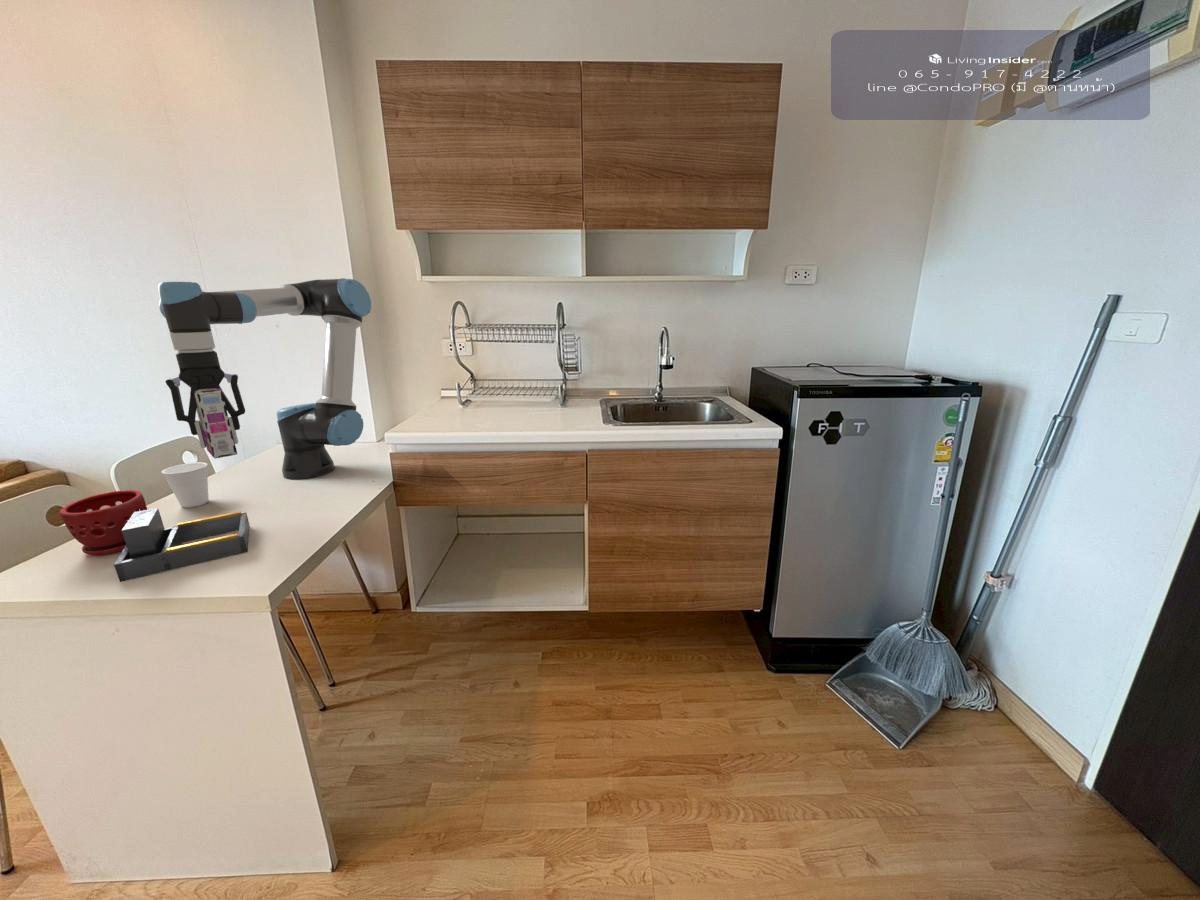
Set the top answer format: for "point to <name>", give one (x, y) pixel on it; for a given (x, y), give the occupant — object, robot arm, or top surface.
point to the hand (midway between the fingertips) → (220, 444)
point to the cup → (188, 483)
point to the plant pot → (102, 520)
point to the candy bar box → (215, 422)
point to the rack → (177, 543)
